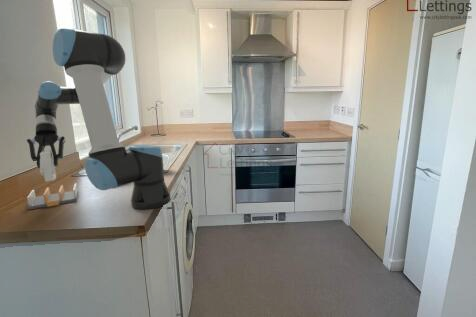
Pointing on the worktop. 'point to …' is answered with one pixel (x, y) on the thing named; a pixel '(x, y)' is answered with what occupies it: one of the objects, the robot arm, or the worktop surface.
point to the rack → (52, 198)
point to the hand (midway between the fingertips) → (47, 172)
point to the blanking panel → (47, 165)
